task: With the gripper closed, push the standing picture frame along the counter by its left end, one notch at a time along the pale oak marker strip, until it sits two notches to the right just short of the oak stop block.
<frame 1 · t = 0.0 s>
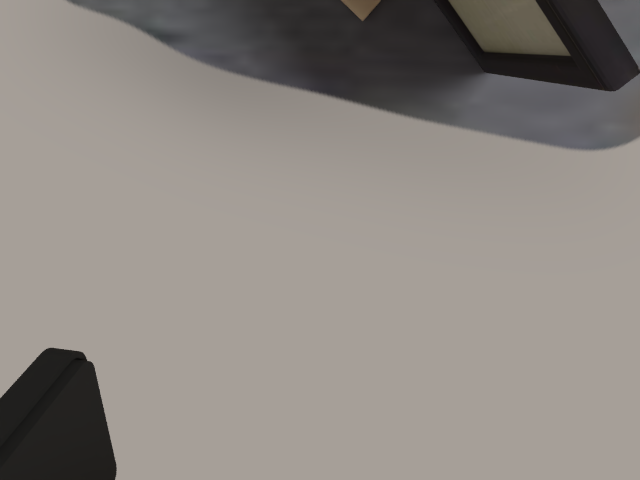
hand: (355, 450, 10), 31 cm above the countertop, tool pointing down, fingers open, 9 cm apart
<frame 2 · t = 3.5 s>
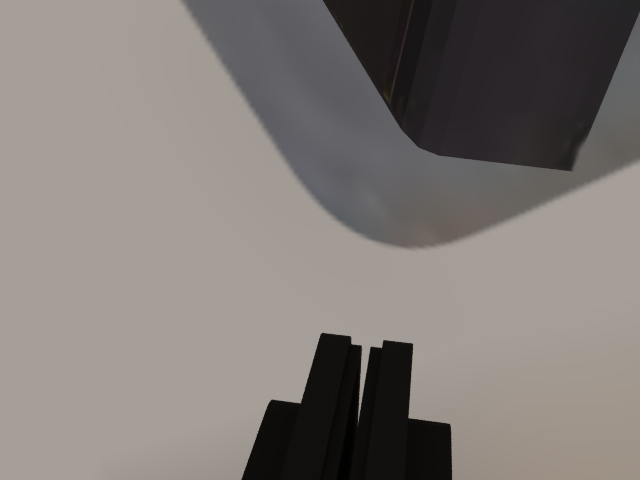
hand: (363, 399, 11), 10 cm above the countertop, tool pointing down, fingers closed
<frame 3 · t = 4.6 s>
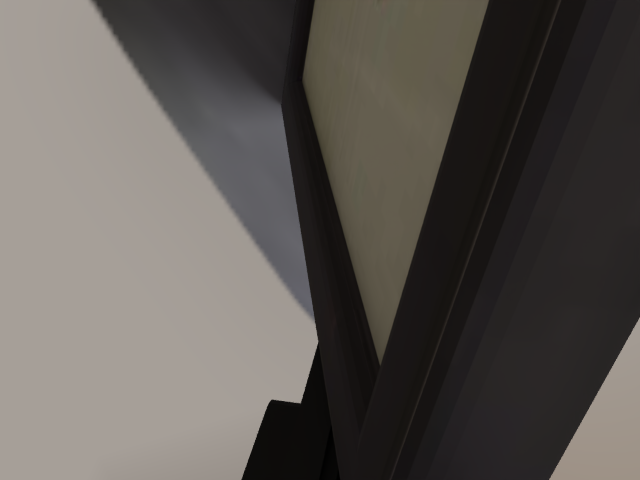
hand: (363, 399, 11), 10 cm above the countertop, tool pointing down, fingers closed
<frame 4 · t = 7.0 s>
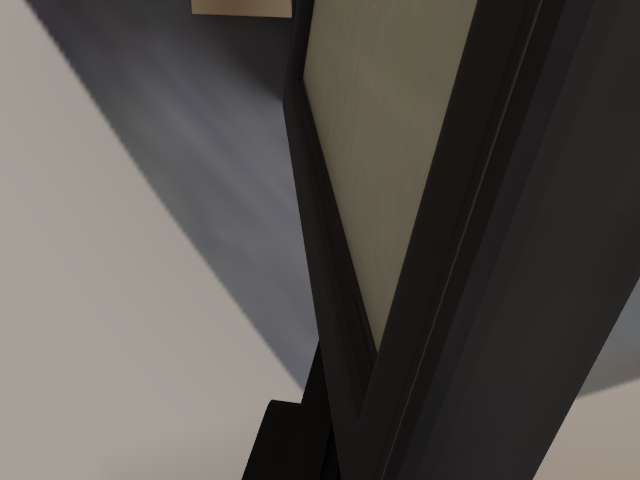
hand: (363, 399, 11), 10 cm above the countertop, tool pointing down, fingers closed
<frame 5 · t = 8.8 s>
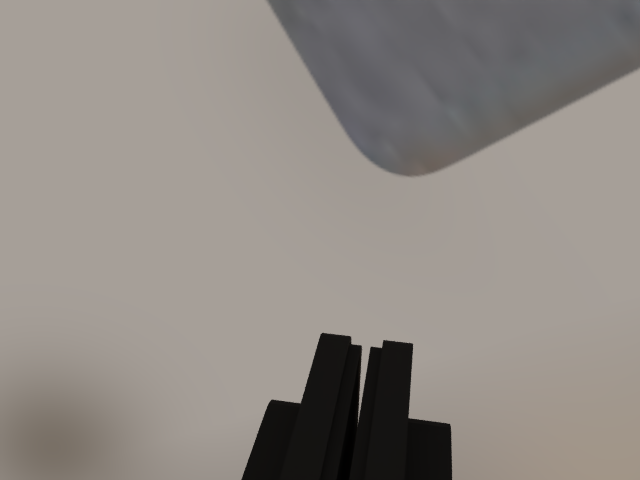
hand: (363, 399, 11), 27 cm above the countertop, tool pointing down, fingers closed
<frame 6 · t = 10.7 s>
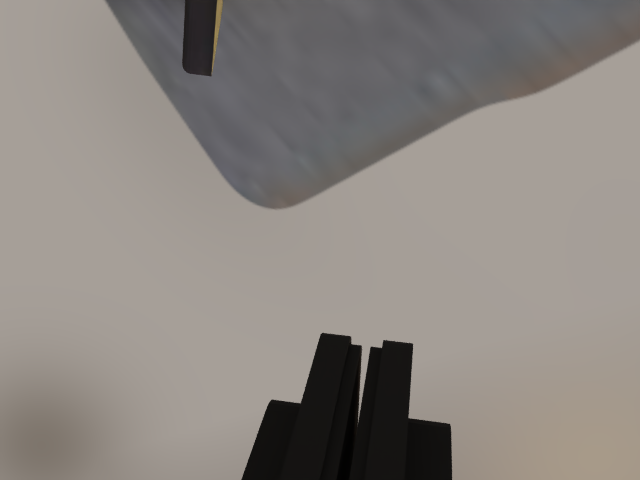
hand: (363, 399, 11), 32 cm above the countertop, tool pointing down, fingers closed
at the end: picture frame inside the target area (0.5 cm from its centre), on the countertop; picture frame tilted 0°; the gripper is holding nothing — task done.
